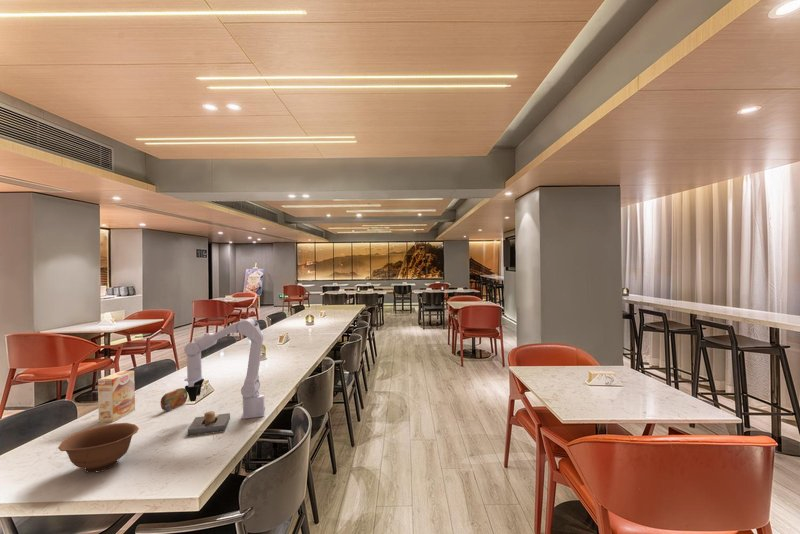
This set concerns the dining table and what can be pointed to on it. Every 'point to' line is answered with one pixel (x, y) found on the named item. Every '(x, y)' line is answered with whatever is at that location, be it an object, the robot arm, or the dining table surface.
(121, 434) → the bowl
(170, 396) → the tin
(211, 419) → the peg
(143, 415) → the dining table surface
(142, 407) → the dining table surface
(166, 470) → the dining table surface
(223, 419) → the plate
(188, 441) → the dining table surface
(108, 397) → the coffeecake box
